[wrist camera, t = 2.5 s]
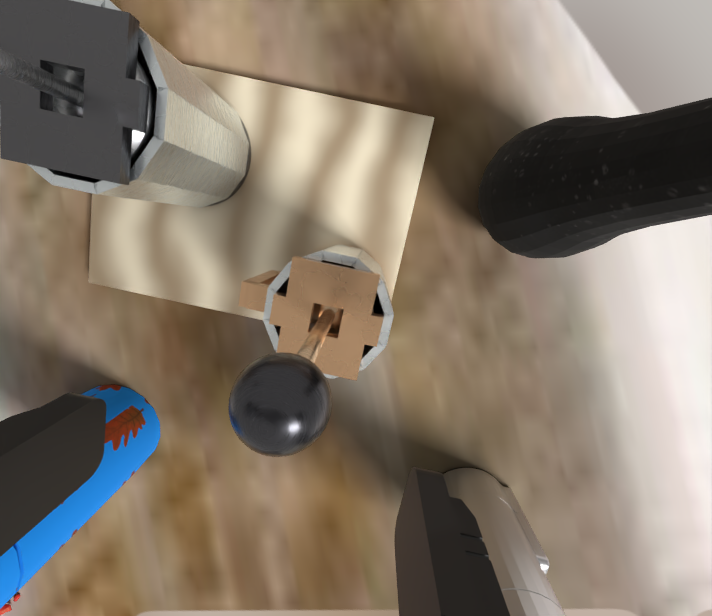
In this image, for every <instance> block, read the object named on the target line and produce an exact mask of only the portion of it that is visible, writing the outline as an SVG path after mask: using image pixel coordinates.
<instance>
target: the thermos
mask: <svg viewBox="0 0 712 616" xmlns="http://www.w3.org/2000/svg"><path fill="white" fill-rule="evenodd" d="M81 395H85V396H90V397H95V398H99V399H103V400H104V401H105V403H106V426H105V444H104V455H103V458H102V461H101V463H100V465H99V467H98V469H97V470H96V472H95V473H94V474H93V475H92V477H91V478H90V479H89V480H87V481H86V482H85V483H84V484H83V485H82V486H81V487H79V488H78V489H77V490H76V491H75V492H74V493H73V494H72V495H70V496H69V497H68V498H67V499H66V500H65V501H64V502H62V503H61V504H60V505H59V506H58V507H57V508H56V509H54V510H53V511H52V512H51V513H50V514H49V515H48V516H46V517H45V518H44V519H43V520H42V521H41V522H40V523H38V524H37V525H36V526H35V527H34V528H33V529H32V530H30V531H29V532H28V533H27V534H26V535H25V536H24V537H22V538H21V539H20V540H19V541H18V542H17V543H16V544H14V545H13V546H12V547H11V548H10V549H9V550H8V551H6V552H5V553H4V554H3V555H2V556H1V557H0V609H1V608H2V607H3V606H4V605H5V604H6V603H7V602H8V601H9V600H10V599H11V598H12V597H13V596H14V594H15V593H16V592H17V591H18V590H19V589H20V588H21V587H22V586H23V585H24V584H25V583H26V582H27V581H28V580H29V579H30V578H31V577H32V576H33V575H34V574H35V573H36V572H37V571H38V570H39V569H40V568H41V567H42V566H43V565H44V564H45V563H46V562H47V561H48V560H49V559H50V558H51V557H52V556H53V555H54V554H55V553H56V552H57V551H58V550H59V549H60V548H61V547H62V546H63V545H64V544H65V543H66V542H67V541H68V540H69V539H70V538H71V537H72V536H73V535H74V534H75V533H76V532H77V531H78V530H79V529H80V528H81V527H82V526H83V525H84V524H85V523H86V522H87V521H88V520H89V519H90V518H91V517H92V516H93V515H94V514H95V512H96V511H97V510H98V509H99V508H100V507H101V506H102V505H103V504H104V503H105V502H106V501H107V500H108V499H109V498H110V497H111V496H112V495H113V494H114V493H115V492H116V491H117V490H118V489H119V488H120V487H121V486H122V485H123V484H124V483H125V482H126V481H127V480H128V479H129V478H130V477H131V476H132V475H133V474H134V473H135V472H136V471H137V470H138V469H139V467H140V466H141V465H142V464H143V463H144V462H145V461H146V459H147V458H148V457H149V456H150V455H151V454H152V453H153V451H154V450H155V449H156V447H157V444H158V441H159V439H160V422H159V420H158V418H157V415H156V413H155V411H154V409H153V407H152V406H151V405H150V404H149V403H148V402H147V401H146V399H145V398H144V397H143V396H141V395H139V394H138V393H136V392H135V391H133V390H131V389H130V388H126V387H122V386H118V385H115V384H114V385H100V386H97V387H95V388H93V389H91V390H89V391H87V392H85V393H83V394H81Z"/></svg>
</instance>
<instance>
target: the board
mask: <svg viewBox="0 0 712 616" xmlns="http://www.w3.org/2000/svg"><path fill="white" fill-rule="evenodd" d="M184 65H185V66H186V67H187V68H188V69H189V70H190V71H192V72H193V73H194V74H195V75H196V76H197V77H199V78H200V79H201V80H202V81H203V82H204V83H205V84H207V85H208V86H209V87H210V88H211V89H212V90H213V91H215V92H216V93H217V94H218V95H219V96H220V97H221V98H222V99H223V100H224V101H225V102H227V103H228V104H229V105H230V106H231V107H232V108H233V109H234V110H235V111H236V112H237V113H238V115H239V116H240V118H241V120H242V121H243V123H244V125H245V127H246V130H247V132H248V135H249V139H250V144H251V163H250V168H249V172H248V175H247V177H246V179H245V181H244V183H243V185H242V186H241V188H240V189H239V190H238V191H237V192H236V193H235V194H234V195H233V196H232V197H231V198H229V199H228V200H226V201H224V202H222V203H220V204H217V205H213V206H207V207H202V208H198V207H190V206H183V205H175V204H167V203H160V202H152V201H144V200H136V199H129V198H121V197H113V196H105V195H98V194H93V193H92V207H91V231H90V255H89V280H88V283H93V284H98V285H102V286H107V287H112V288H116V289H121V290H125V291H130V292H135V293H139V294H144V295H149V296H153V297H158V298H163V299H167V300H172V301H176V302H181V303H186V304H190V305H195V306H200V307H204V308H209V309H214V310H218V311H223V312H227V313H232V314H237V315H241V316H246V317H251V318H255V319H260V320H263V316H264V312H261V311H256V310H251V309H247V308H246V307H241V306H238V305H239V298H240V291H241V283H242V281H244V280H247V279H249V278H252V277H255V276H257V275H260V274H262V273H265V272H267V271H270V270H276V271H282V270H283V269H284V268H285V266H286V265H287V264H288V263H289V262H290V261H292V257H294V256H298V257H303V256H306V255H309V254H311V253H314V252H317V251H320V250H323V249H326V248H329V247H332V246H335V245H338V244H341V245H347V246H353V247H356V248H360V249H362V250H364V251H365V252H367V253H368V254H369V255H370V256H372V257H373V258H374V259H375V260H376V262H377V263H379V264H380V266H381V268H382V271H383V274H384V278H385V281H386V284H387V287H388V291H389V296H390V300H392V296H393V291H394V287H395V283H396V279H397V274H398V270H399V266H400V262H401V257H402V253H403V249H404V245H405V241H406V236H407V232H408V228H409V224H410V219H411V215H412V211H413V207H414V202H415V198H416V194H417V190H418V185H419V181H420V177H421V173H422V168H423V164H424V160H425V156H426V152H427V147H428V143H429V139H430V135H431V130H432V126H433V122H434V117H430V116H425V115H420V114H416V113H411V112H406V111H402V110H397V109H392V108H388V107H383V106H378V105H373V104H369V103H364V102H359V101H355V100H350V99H345V98H341V97H336V96H331V95H326V94H322V93H317V92H312V91H308V90H303V89H298V88H294V87H289V86H284V85H279V84H275V83H270V82H265V81H261V80H256V79H251V78H247V77H242V76H237V75H232V74H228V73H223V72H218V71H214V70H209V69H204V68H200V67H195V66H190V65H186V64H184Z"/></svg>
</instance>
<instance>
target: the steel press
mask: <svg viewBox="0 0 712 616" xmlns="http://www.w3.org/2000/svg"><path fill="white" fill-rule="evenodd" d="M0 49H2V50H4V51H6V52H9V53H11V54H13V55H15V56H17V57H19V58H21V59H23V60H25V61H27V62H29V63H31V64H33V65H35V66H37V67H39V68H41V69H44V70H46V71H48V72H50V73H52V74H53V69H54V67H59V68H64V69H68V70H73V71H78V72H82V73H85V74H84V103H83V118H81V117H76V116H72V115H67V114H62V113H58V112H53V96H52V95H50V94H47V93H45V92H43V91H40V90H38V89H36V88H33V87H31V86H28V85H26V84H24V83H21V82H19V81H16V80H14V79H12V78H9V77H7V76H4V75H2V74H0V136H1V158H2V159H6V160H11V161H16V162H20V163H25V164H28V165H29V166H30V167H31V168H32V169H34V170H35V171H36V172H37V173H38V174H40V175H41V176H42V177H43V178H44V179H46V180H47V181H48V182H49V183H50V184H51V185H55V186H60V187H65V188H69V189H74V190H79V191H83V192H88V193H93V194H98V195H105V196H113V197H121V198H129V199H136V200H144V201H152V202H160V203H167V204H175V205H183V206H190V207H198V208H202V207H207V206H213V205H217V204H220V203H222V202H224V201H226V200H228V199H229V198H231V197H232V196H233V195H234V194H235V193H236V192H237V191H238V190H239V189H240V188H241V186H242V185H243V183H244V181H245V179H246V177H247V175H248V172H249V168H250V163H251V144H250V139H249V135H248V132H247V130H246V127H245V125H244V123H243V121H242V120H241V118H240V116H239V115H238V113H237V112H236V111H235V110H234V109H233V108H232V107H231V106H230V105H229V104H228V103H227V102H225V101H224V100H223V99H222V98H221V97H220V96H219V95H218V94H217V93H216V92H215V91H213V90H212V89H211V88H210V87H209V86H208V85H207V84H205V83H204V82H203V81H202V80H201V79H200V78H199V77H197V76H196V75H195V74H194V73H193V72H192V71H190V70H189V69H188V68H187V67H186V66H185V65H184V64H182V63H181V62H180V61H179V60H178V59H177V58H175V57H174V56H173V55H172V54H171V53H170V52H169V51H167V50H166V49H165V48H164V47H163V46H162V45H161V44H159V43H158V42H157V41H156V40H155V39H154V38H152V37H151V36H150V35H149V34H148V33H147V32H146V31H144V30H143V29H142V28H141V27H140V26H139V21H138V20H137V19H136V18H135V17H133V16H132V15H131V14H130V13H128V12H123V11H121V10H120V9H119V8H118V7H117V6H116V5H115V4H113V3H112V2H111V1H110V0H0ZM137 59H138V60H139V61H140V63H141V64H142V66H143V68H144V69H145V71H146V73H147V75H148V78H149V80H150V83H151V86H152V89H153V94H154V99H155V121H154V127H153V131H152V134H151V136H150V139H149V141H148V143H147V145H146V146H145V148H144V149H143V151H142V152H141V153H140V155H138V156H137V157H136V158H135V159H134V160H133V161H131V148H132V132H133V131H137V132H142V133H147V119H148V105H149V91H150V87H149V86H148V85H146V84H145V83H143V82H141V81H139V80H136V68H137Z"/></svg>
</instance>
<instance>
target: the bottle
mask: <svg viewBox="0 0 712 616" xmlns="http://www.w3.org/2000/svg"><path fill="white" fill-rule="evenodd" d="M478 208H479V212H480V215H481V219H482V222H483V225H484V226H485V228H486V229H487V231H488V232H489V234H490V235H491V237H492V238H493V239H494V240H495V241H496V242H498V243H499V244H500V245H502V246H503V247H505V248H506V249H507V250H509V251H510V252H512V253H516V254H519V255H522V256H526V257H529V258H560V257H567V256H570V255H574V254H577V253H580V252H583V251H586V250H589V249H592V248H595V247H597V246H599V245H602V244H604V243H606V242H608V241H610V240H611V239H613V238H615V237H617V236H619V235H621V234H624V233H627V232H631V231H635V230H638V229H642V228H646V227H649V226H654V225H660V224H665V223H670V222H676V221H681V220H686V219H691V218H697V217H702V216H707V215H712V98H708V99H704V100H700V101H696V102H692V103H688V104H684V105H679V106H675V107H671V108H667V109H663V110H659V111H655V112H651V113H645V114H639V115H632V116H626V117H619V118H608V117H601V116H581V117H563V118H556V119H552V120H549V121H547V122H544V123H542V124H539V125H536V126H534V127H531V128H529V129H526V130H524V131H522V132H521V133H519V134H517V135H516V136H515V137H514V138H512V139H511V140H510V141H508V142H507V143H506V144H505V145H503V146H502V147H501V148H500V149H499V150H498V152H497V153H496V155H495V156H494V157H493V159H492V160H491V162H490V163H489V164H488V166H487V167H486V169H485V172H484V175H483V178H482V181H481V183H480V186H479V198H478Z"/></svg>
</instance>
